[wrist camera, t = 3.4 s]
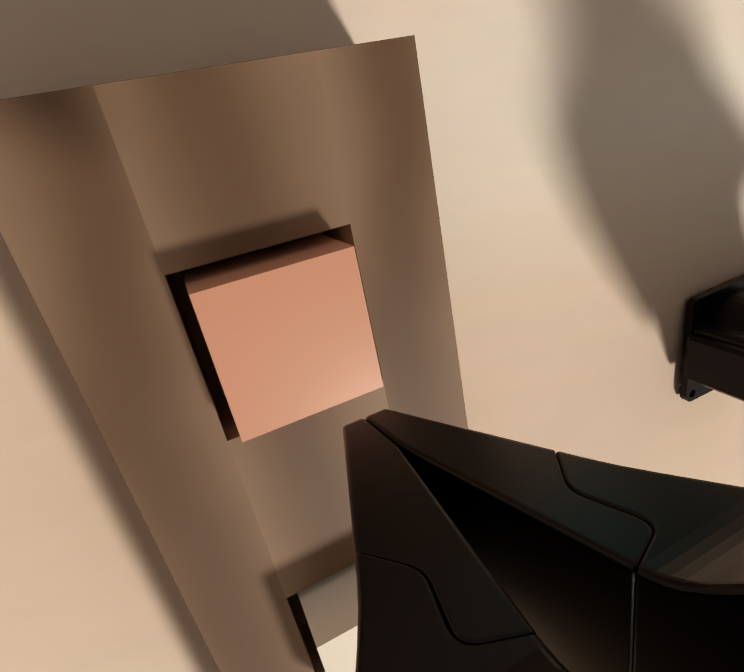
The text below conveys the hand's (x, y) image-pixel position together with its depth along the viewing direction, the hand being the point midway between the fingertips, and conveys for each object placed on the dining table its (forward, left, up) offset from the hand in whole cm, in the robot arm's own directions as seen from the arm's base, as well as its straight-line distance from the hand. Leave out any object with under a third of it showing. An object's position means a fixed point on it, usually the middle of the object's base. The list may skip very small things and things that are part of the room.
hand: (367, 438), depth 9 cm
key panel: (0, +6, -10) cm, 12 cm away
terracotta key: (0, 0, -8) cm, 8 cm away
